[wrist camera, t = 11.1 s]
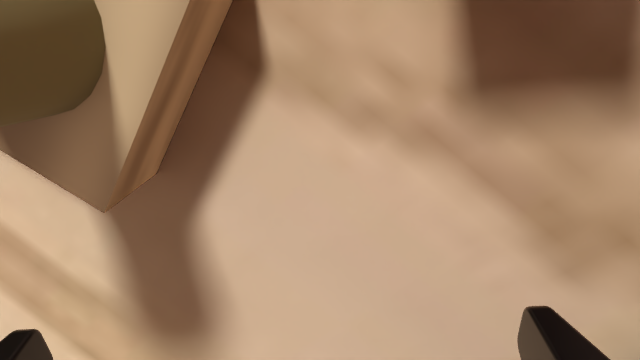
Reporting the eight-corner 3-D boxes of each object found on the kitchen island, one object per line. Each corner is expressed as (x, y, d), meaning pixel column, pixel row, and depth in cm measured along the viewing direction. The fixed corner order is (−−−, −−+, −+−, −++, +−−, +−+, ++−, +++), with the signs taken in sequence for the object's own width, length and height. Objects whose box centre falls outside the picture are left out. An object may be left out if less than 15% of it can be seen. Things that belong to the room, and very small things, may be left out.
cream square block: (249, -38, 20) (203, -35, 16) (156, 173, 24) (104, 213, 21) (12, -184, 20) (-87, -213, 16) (-38, 55, 24) (-124, 74, 20)
